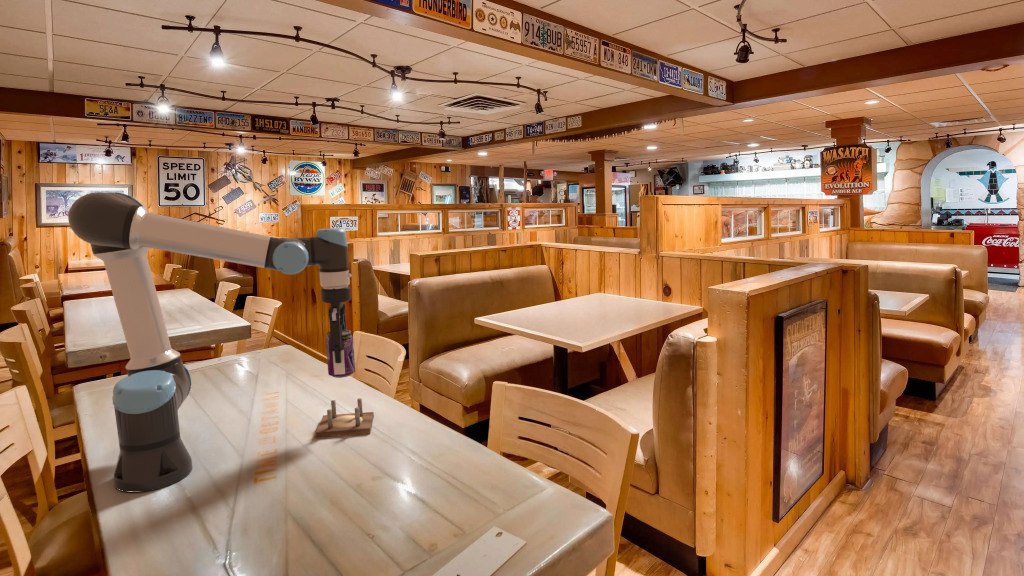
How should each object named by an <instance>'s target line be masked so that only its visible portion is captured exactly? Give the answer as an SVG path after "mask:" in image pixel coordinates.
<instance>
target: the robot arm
mask: <svg viewBox="0 0 1024 576" xmlns="http://www.w3.org/2000/svg"><path fill="white" fill-rule="evenodd" d="M67 216H68V217H67V218H68V219H67V221H68V224H69V227H70V229H71V230H72V232H73V234H75V235H76V236H77V237H78V238H79V239H81V240H82V241H83V242H86V243H87V244H90V245H89V246H90V247H91V252H92V255H93V256H94V257H96V258H97V259H100V260H101V262H103V265H104V267H105V272H106V275H107V279H108V282H109V285H110V289H111V292H112V295H113V296H112V297H113V299H114V304H115V307H116V311H117V314H118V317H119V321H120V324H121V329H122V332H123V335H124V338H125V342H126V346H127V350H128V352H129V357H130V359H129V361H128V362H127V364H126V365H125V370H126V374H127V376H124V377H123V378H121V379H119V380H118V381H117V382H116V383H115V385H114V386H113V389H112V399H111V400H112V405H113V408H114V414H115V415H114V416H115V422H116V423H115V424H116V429H117V436H118V445H119V454H118V458H117V461H116V465H115V469H114V474H113V483H114V488H115V487H116V488H118V489H120V490H123V491H144V492H148V491H147V490H150V491H153V490H152V489H155V490H158V489H157V488H159V489H162V488H165V487H168V486H171V485H173V484H175V483H177V482H180V481H181V480H183V479H184V478H186V477H187V476H188V475H189V474H190V473H191V472H192V470H193V460H192V457H191V455H190V453H189V451H188V449H187V447H186V445H185V444H184V442H183V440H182V437H181V431H180V430H181V429H180V421H179V409H180V408H181V406H182V404H184V401H185V400H186V399H187V398H188V396H189V394H190V392H191V389H192V375H191V373H190V370H189V369H188V368H187V366H185V364H184V363H183V359H182V355H181V353H180V352H179V351H177V350H175V349H173V348H172V345H171V341H170V339H169V334H168V330H167V326H166V323H165V319H164V315H163V312H162V308H161V304H160V300H159V296H158V293H157V289H156V286H155V285H156V284H155V281H154V277H153V274H152V270H151V266H150V263H149V259H148V255H147V254H148V252H149V251H150V250H151V249H155V250H160V251H166V252H172V253H178V254H184V255H189V256H194V257H200V258H206V259H211V260H212V259H213V260H217V261H223V262H229V263H235V264H240V265H245V266H251V267H258V268H263V269H267V270H272V271H279V272H281V273H282V274H284V275H290V276H291V275H296V274H299V273H300V272H302V271H304V270H305V268H306V267H311V266H313V267H315V266H318V267H319V269H318V270H319V284H320V286H321V287H322V288H321V289H320V291H321V292H320V294H321V302H322V303H324V304H330V307H329V309H328V318H329V320H328V321H329V332H330V337H331V349H329V351H333V364H334V375H337V374H345V363H344V350H343V347H342V330H348V329H347V318H346V317H347V315H346V312H347V307H346V304H345V303H346V302H349V301H351V299H352V292H351V287H350V285H351V284H350V283H351V280H350V278H351V277H353V275H352V273H350V268H349V267H350V265H349V262H350V261H349V247H348V246H349V245H348V240H347V239H348V238H347V232H346V231H345V229H344V228H335V227H334V228H333V227H332V228H319V229H317V230H316V234H315V236H310V237H273V236H269V235H268V236H267V235H264V234H263V235H262V234H260V233H259V234H257V233H254V232H249V231H243V230H240V229H239V230H237V229H234V228H229V227H224V226H218V225H213V224H209V223H204V222H203V223H202V222H199V221H193V220H190V219H189V220H188V219H184V218H178V217H175V216H174V217H173V216H170V215H169V216H168V215H165V214H158V213H154V212H149V211H148V210H147V208H146V207H145V206H144V204H143V203H141V201H139V200H138V199H137V198H135V197H132V196H131V195H128V194H125V193H122V192H118V191H117V192H116V191H115V192H101V191H100V192H99V191H98V192H90V193H86V194H84V195H82V196H80V197H79V198H77V199H76V200H75V201H74V202H73V203H72V204H71V206H70V207H69V211H68V215H67ZM336 345H338V346H336ZM170 484H171V485H170ZM167 485H168V486H167ZM164 486H165V487H164ZM161 487H162V488H161ZM116 488H115V489H116Z"/></svg>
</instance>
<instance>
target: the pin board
mask: <svg viewBox="0 0 1024 576" xmlns="http://www.w3.org/2000/svg"><path fill="white" fill-rule="evenodd" d="M330 401H331V402H330V406H331V409H327V410H326V415H324V414H323V415H322V418H321V420H320V422H319V423H318V426H317V429H316V431H315V438H317V439H319V438H329V437H345V436H356V435H357V436H358V435H369V434H371V433H372V432H371V431H372V427H373V421H374V418H375V415H374V411H368V412H363V398H361V397H360V398H357V407H354V412H353V413H342V414H341V413H340V414H337V404H336V399H332V400H330Z"/></svg>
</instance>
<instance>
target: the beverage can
mask: <svg viewBox="0 0 1024 576" xmlns="http://www.w3.org/2000/svg"><path fill="white" fill-rule="evenodd" d="M326 335H327V336H326V339H325V346H326V349H325V350H326V361H327V362H326V363H327V374H328V376H330V377H332V378H338V379H341V378H346V377H350V376H351V375H353V374H355V372H356V362H355V361H356V360H355V347H354V346H355V345H354V336H353V335H352V331H351V330H350V329H347V330H342V347H343V350H344V363H345V374H337V375H334V364H333V351H329V349H331V337H330V331H328V332H327V334H326ZM336 346H338V345H336Z"/></svg>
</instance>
